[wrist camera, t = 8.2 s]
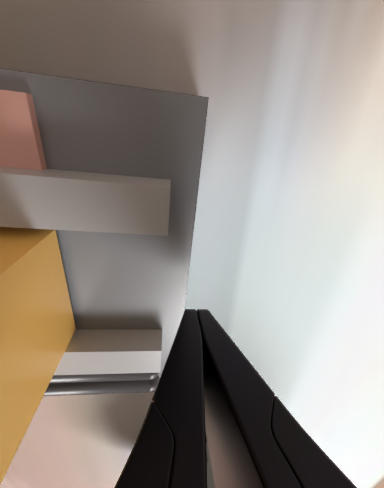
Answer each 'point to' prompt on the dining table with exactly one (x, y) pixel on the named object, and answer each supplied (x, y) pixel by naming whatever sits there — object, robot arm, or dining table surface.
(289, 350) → the dining table surface
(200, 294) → the dining table surface
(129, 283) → the panel
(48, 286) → the toggle
